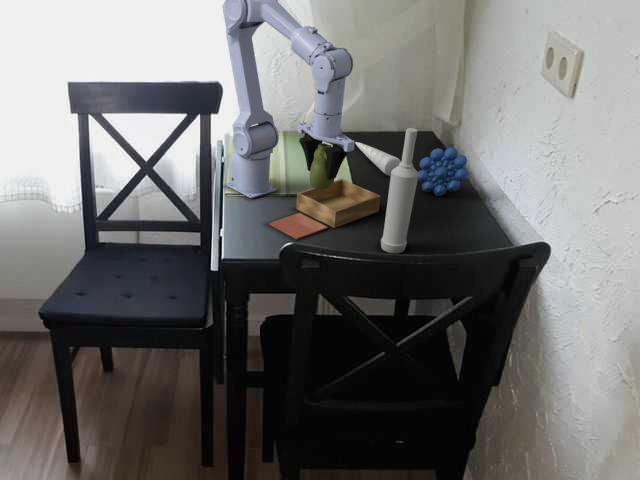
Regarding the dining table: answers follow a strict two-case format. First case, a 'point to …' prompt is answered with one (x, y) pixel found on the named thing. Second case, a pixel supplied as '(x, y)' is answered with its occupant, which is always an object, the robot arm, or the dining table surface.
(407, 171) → the bottle
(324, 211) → the wooden shallow box
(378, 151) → the unicorn horn
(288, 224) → the coaster
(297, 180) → the dining table surface
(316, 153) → the pear
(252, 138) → the robot arm
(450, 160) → the blue knobbed flower
